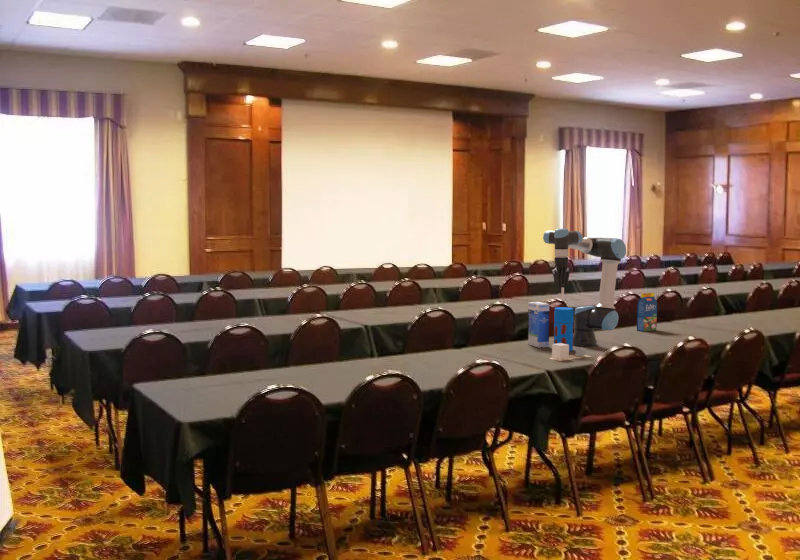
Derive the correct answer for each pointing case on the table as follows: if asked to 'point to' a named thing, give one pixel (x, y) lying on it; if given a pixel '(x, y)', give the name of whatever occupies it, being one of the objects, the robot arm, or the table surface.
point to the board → (572, 357)
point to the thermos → (563, 326)
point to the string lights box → (538, 324)
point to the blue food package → (647, 312)
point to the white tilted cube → (560, 351)
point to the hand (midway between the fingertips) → (561, 299)
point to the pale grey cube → (580, 352)
